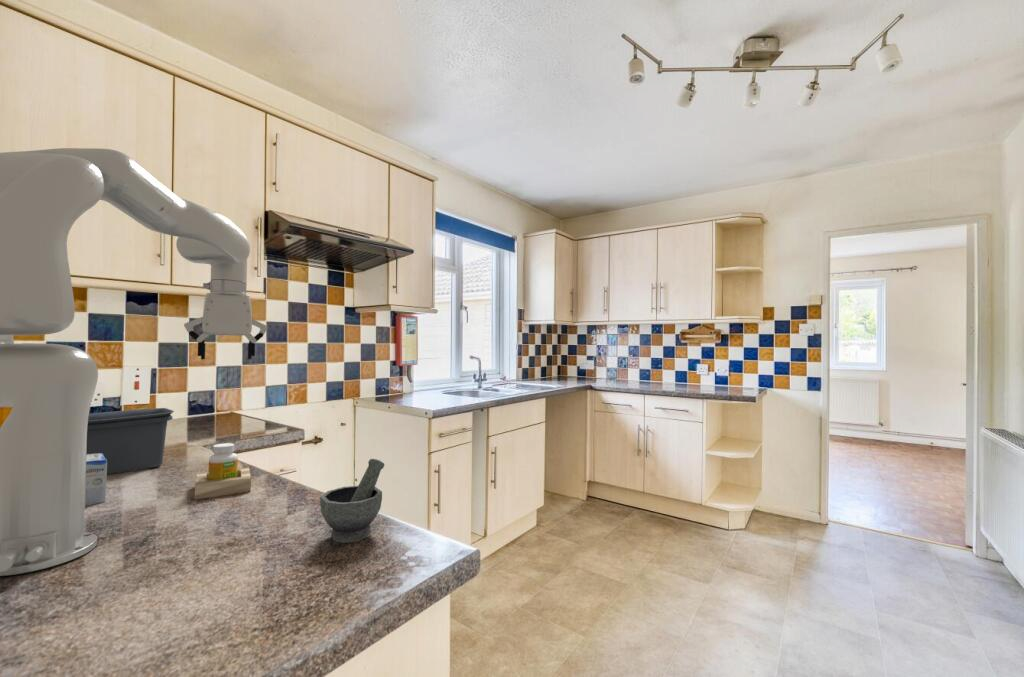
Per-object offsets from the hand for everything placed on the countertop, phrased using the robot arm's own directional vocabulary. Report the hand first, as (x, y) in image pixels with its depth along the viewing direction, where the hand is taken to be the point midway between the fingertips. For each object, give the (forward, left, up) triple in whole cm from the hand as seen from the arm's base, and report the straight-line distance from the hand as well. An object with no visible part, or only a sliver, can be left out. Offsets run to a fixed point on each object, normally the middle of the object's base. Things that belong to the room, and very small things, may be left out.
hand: (226, 359), depth 111 cm
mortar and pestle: (-51, -19, -28) cm, 61 cm away
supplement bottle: (-12, 0, -28) cm, 31 cm away
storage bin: (+19, +23, -29) cm, 41 cm away
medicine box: (-7, +23, -29) cm, 37 cm away
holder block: (-12, 0, -28) cm, 31 cm away
